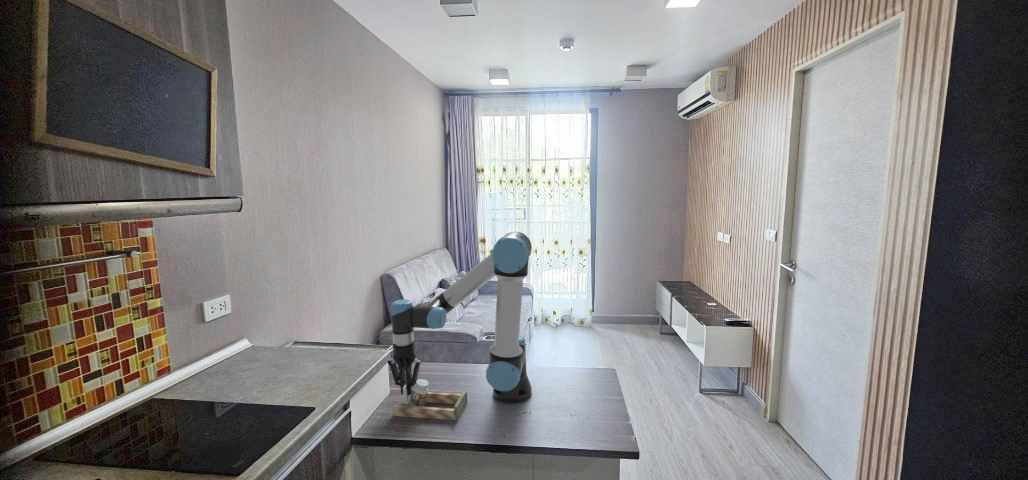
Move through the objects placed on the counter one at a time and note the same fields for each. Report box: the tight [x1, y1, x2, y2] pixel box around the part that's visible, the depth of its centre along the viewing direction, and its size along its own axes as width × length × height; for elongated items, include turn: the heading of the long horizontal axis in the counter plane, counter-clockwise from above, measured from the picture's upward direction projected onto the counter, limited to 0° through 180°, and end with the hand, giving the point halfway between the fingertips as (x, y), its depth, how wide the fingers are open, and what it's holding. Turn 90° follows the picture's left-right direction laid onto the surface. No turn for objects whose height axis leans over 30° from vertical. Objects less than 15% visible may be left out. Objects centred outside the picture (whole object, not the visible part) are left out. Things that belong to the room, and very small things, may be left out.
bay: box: [392, 390, 468, 421], centre depth 147 cm, size 24×11×5 cm, turn 80°
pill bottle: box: [408, 378, 430, 407], centre depth 147 cm, size 6×6×10 cm
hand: (407, 402), depth 149 cm, fingers closed
